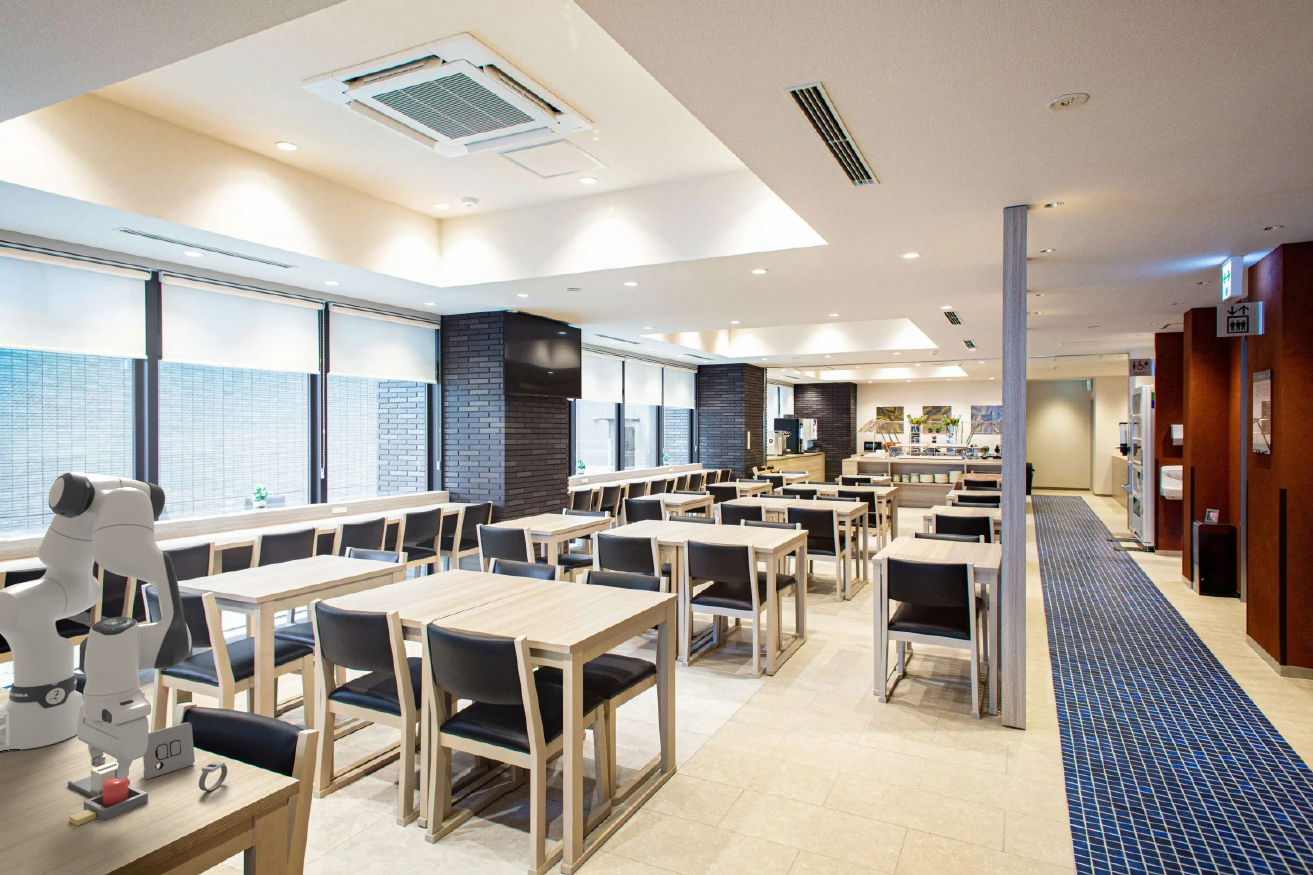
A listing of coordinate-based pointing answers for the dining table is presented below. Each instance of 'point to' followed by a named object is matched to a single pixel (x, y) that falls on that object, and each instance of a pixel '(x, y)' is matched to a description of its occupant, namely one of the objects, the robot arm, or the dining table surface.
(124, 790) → the cap
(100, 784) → the white slotted block
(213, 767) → the wristwatch
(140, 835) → the dining table surface
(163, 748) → the electrical switch
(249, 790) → the dining table surface
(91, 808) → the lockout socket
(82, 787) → the rail
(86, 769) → the dining table surface
